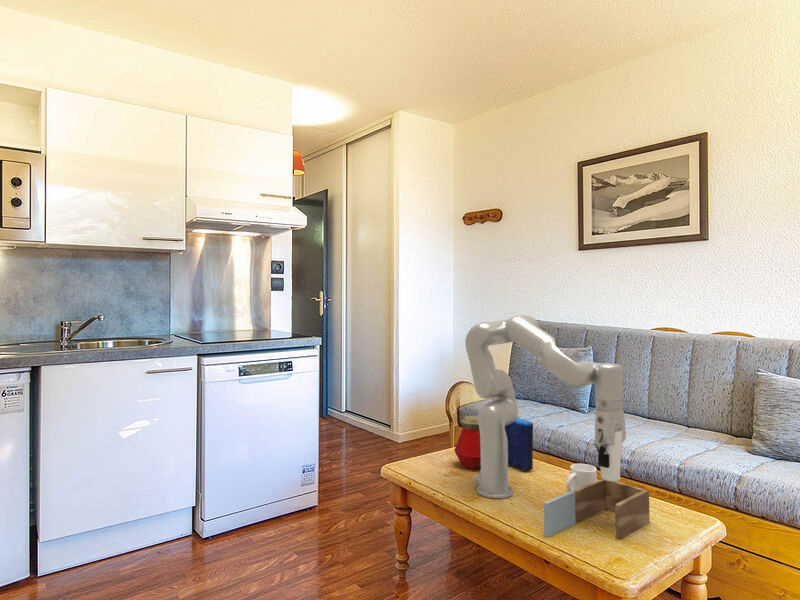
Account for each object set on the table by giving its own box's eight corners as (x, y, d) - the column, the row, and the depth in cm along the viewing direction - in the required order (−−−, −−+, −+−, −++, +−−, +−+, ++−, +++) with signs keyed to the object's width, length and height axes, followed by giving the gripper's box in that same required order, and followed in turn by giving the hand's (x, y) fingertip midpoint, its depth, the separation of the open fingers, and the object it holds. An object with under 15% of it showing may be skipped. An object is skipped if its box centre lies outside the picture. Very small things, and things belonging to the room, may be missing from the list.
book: (500, 463, 203) (499, 415, 203) (509, 461, 205) (509, 413, 205) (524, 473, 190) (524, 422, 190) (534, 471, 193) (534, 420, 193)
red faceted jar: (498, 466, 199) (498, 417, 199) (479, 475, 189) (478, 423, 189) (467, 458, 210) (466, 411, 210) (447, 465, 200) (447, 417, 200)
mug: (576, 506, 159) (576, 475, 159) (557, 497, 166) (557, 467, 166) (602, 499, 164) (601, 469, 164) (582, 491, 172) (582, 462, 172)
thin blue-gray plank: (572, 522, 147) (572, 490, 147) (575, 523, 147) (575, 491, 147) (544, 536, 139) (543, 502, 139) (547, 537, 138) (546, 503, 138)
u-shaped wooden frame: (574, 521, 148) (573, 490, 148) (604, 506, 158) (604, 477, 158) (619, 539, 136) (619, 505, 136) (649, 522, 147) (649, 490, 147)
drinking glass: (611, 484, 143) (610, 433, 143) (593, 477, 149) (592, 428, 149) (627, 481, 145) (626, 430, 145) (609, 473, 151) (608, 425, 152)
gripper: (605, 410, 139) (606, 473, 139) (635, 402, 150) (636, 461, 149) (581, 406, 145) (582, 467, 145) (612, 399, 156) (613, 455, 155)
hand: (610, 463), depth 147 cm, fingers closed on drinking glass, 6 cm apart
